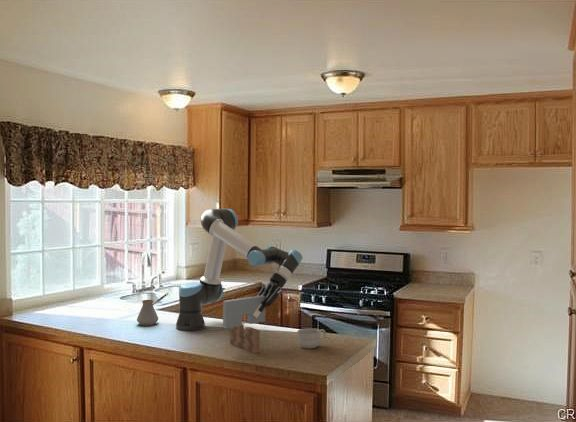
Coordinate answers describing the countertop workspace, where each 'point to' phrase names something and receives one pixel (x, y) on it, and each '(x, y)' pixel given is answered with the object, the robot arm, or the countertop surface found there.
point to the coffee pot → (148, 313)
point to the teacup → (310, 337)
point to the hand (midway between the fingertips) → (252, 315)
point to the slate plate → (242, 311)
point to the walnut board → (245, 338)
